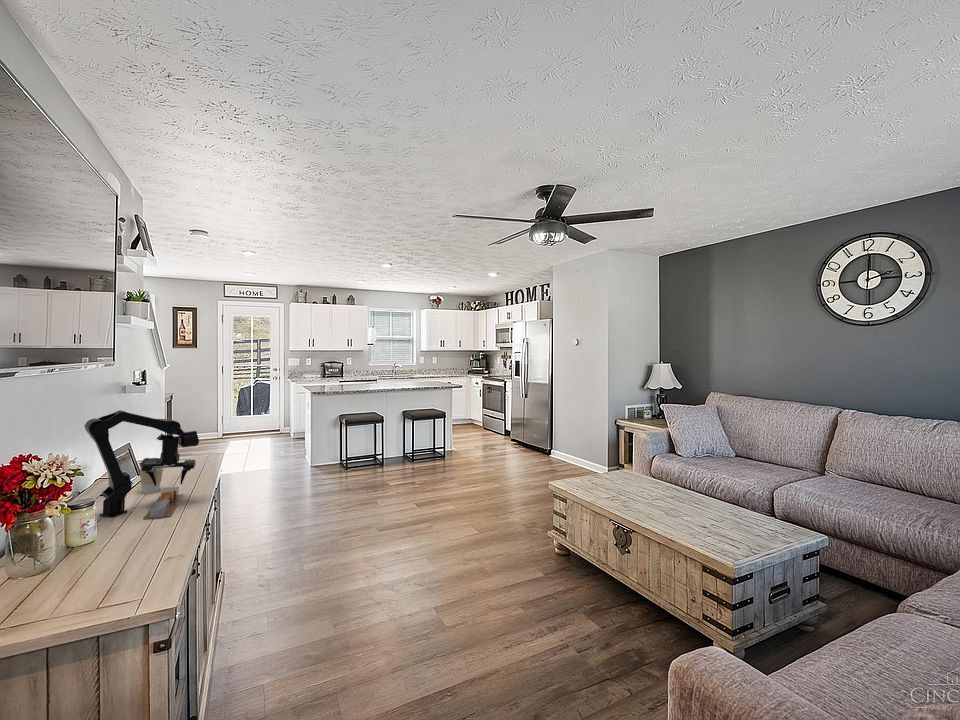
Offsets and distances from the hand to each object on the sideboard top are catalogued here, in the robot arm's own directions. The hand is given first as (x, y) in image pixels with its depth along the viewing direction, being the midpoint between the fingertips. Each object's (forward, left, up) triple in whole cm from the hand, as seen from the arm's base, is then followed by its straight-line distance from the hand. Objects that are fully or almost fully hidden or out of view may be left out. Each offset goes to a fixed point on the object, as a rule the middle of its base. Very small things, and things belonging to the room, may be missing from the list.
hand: (168, 485), depth 195 cm
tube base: (-4, -2, -8) cm, 9 cm away
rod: (-2, -1, -7) cm, 7 cm away
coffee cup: (+12, +19, -8) cm, 24 cm away
